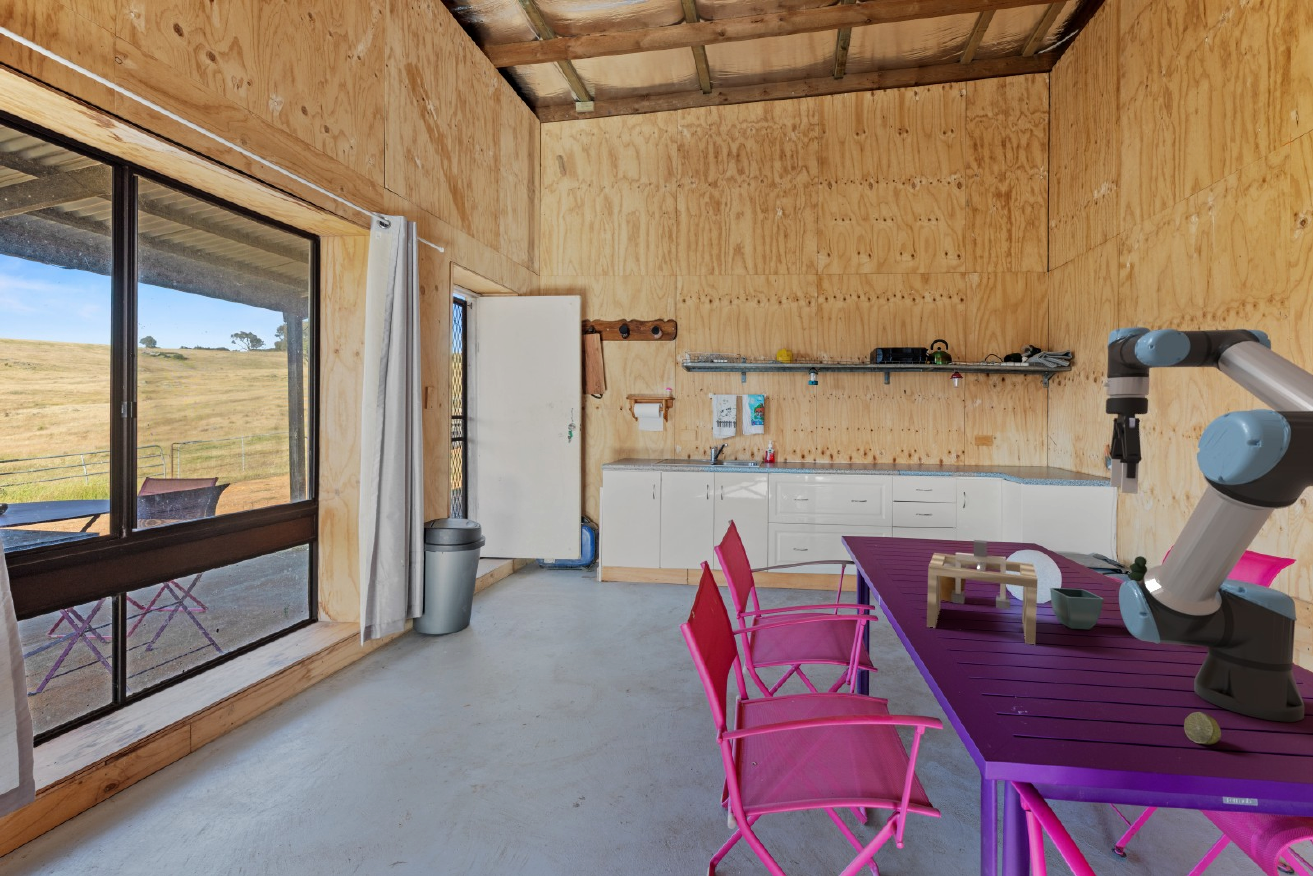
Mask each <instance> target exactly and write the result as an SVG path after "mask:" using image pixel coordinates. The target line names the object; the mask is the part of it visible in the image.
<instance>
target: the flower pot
mask: <svg viewBox="0 0 1313 876" xmlns="http://www.w3.org/2000/svg"><path fill="white" fill-rule="evenodd" d="M1049 591H1050V601H1051V608H1052V611H1053V613H1054V616H1055V617H1056V619H1057V620H1058V621H1059V623H1061V624H1062V625H1064V626H1066V627H1067V628H1069V629H1073V630H1075V629H1076V630H1091V629H1092V628H1093V627H1094V626H1095V625H1097V622H1098V621H1099V619H1100V617H1101V614H1102V608H1103V604H1104V600H1105V599H1104V598H1103V597H1101V596H1099V595H1096V594H1095V593H1092V592H1090V591H1088V590H1085V589H1082V588H1067V587H1066V588H1065V587H1049Z"/></svg>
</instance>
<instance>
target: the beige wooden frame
mask: <svg viewBox="0 0 1313 876" xmlns="http://www.w3.org/2000/svg"><path fill="white" fill-rule="evenodd" d="M945 563H946V564H955V565H956V554H949V553H939V552H937V553H936V552H934V553H933V555H932V557H931V560H930V562H929V564H928V569H927V601H926V602H927V605H926V606H927V607H926V610H927V611H926V627H927V628H930V627H933V628H932V629H936V627H937V623H938V620H937V619H939V616H938V615H940V612H939V611H941V604H942V603H941V601H942V600H941V576H946V577H954V578H962V579H966V580H972V581H978V582H988V583H996V584H1000V583H1001V584H1006V585H1011V586H1018V587H1022V590H1023V591H1022V611H1021V612H1022V614H1021V616H1022V617H1021V618H1022V619H1021V623H1023V624H1022V630H1023V635H1024V636H1025V637H1024V636H1023V637H1024V643H1025V644H1026V643H1027V644H1026V645H1030V644H1034V645H1033V646H1036V632H1037V609H1038V608H1037V605H1038V602H1037V601H1038V581H1039V579H1038V577H1037V574H1036V573H1037V572H1036V569H1035V566H1034V564H1033V563H1029V562H1020V561H1011V560H1010V561H1009V560H1006V573H1000V564H996V563H986V562H976V561H965V560H961V565H963V566H969V567H973V568H976V569H973V568H968V569H966V568H958V567H949V566H944V564H945ZM986 569H992V570H997V571H990V570H986ZM998 570H999V572H998ZM1007 572H1014V573H1015V572H1016V573H1020V574H1014V573H1007Z"/></svg>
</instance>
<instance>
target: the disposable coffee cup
mask: <svg viewBox="0 0 1313 876" xmlns="http://www.w3.org/2000/svg"><path fill="white" fill-rule="evenodd" d="M944 566H949V567H956V565H955V564H946V563H945V564H944ZM961 568H966V569H970V566H963V565H961ZM966 580H967V579H962V578H961V591H965V587H966ZM952 590H956V578H954V577H946V576H941V601H942V600H945V601H950V602H951V594H952ZM945 601H944V602H945ZM950 602H949V603H950Z"/></svg>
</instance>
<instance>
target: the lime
mask: <svg viewBox="0 0 1313 876" xmlns="http://www.w3.org/2000/svg"><path fill="white" fill-rule="evenodd" d="M1183 730H1184V732H1185V734H1186V736H1187V738H1188V739H1189V740H1190V741H1191V742H1194V744H1195V743H1196V744H1200V745H1213V744H1216V743H1218V741H1220V739H1221V737H1222V731H1221V728H1220V725H1219V723H1218V722H1217V721H1216V720H1215V718H1213V717H1212V716H1210V715H1209V714H1207V713H1206V712H1202V711H1196V712H1191V713H1189V715H1187V717H1185V719H1184V724H1183Z"/></svg>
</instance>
